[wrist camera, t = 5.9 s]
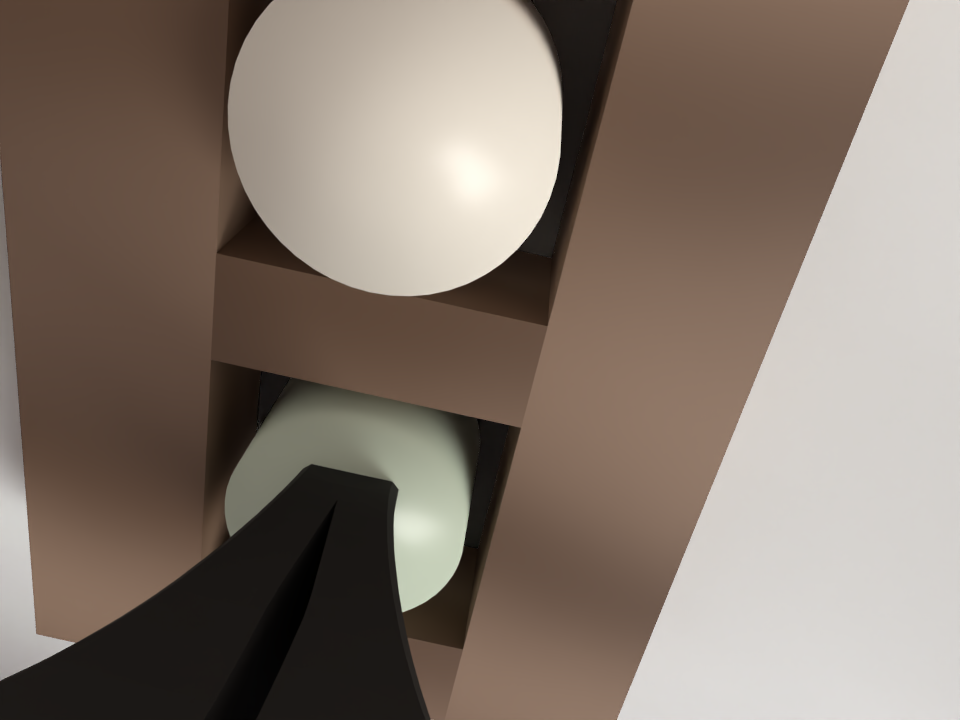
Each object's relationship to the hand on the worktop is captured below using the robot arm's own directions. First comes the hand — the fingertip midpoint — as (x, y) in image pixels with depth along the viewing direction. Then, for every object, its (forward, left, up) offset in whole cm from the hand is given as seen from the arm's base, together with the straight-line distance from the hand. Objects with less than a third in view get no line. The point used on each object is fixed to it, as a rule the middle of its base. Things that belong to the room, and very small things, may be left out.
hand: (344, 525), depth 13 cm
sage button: (0, 0, -3) cm, 3 cm away
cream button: (+3, +5, -3) cm, 7 cm away
